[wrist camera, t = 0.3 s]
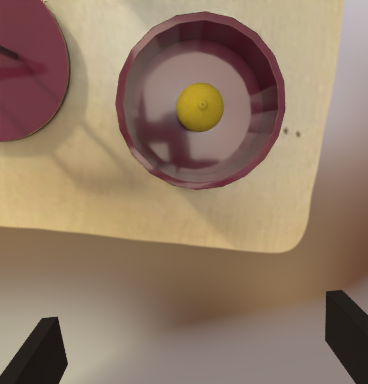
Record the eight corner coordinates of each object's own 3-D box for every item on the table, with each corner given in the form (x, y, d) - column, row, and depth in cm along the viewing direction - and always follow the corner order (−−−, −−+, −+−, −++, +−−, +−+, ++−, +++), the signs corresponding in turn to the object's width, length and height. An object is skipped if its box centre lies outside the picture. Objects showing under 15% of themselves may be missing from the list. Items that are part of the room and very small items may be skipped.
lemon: (226, 101, 36) (239, 93, 29) (205, 139, 37) (212, 141, 30) (189, 79, 36) (192, 65, 28) (168, 119, 37) (166, 115, 29)
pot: (115, 43, 35) (101, 24, 29) (262, 24, 35) (280, 1, 29) (138, 187, 39) (131, 198, 33) (270, 170, 39) (288, 178, 33)
